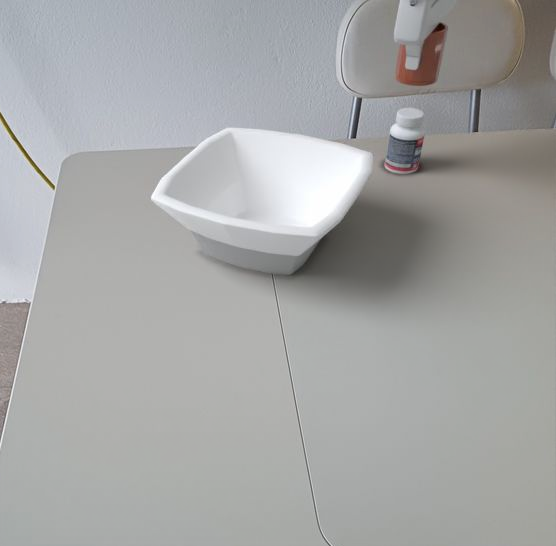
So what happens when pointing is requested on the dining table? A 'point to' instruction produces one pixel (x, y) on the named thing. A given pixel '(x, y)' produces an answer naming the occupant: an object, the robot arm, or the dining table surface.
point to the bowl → (263, 195)
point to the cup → (423, 60)
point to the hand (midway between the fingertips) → (419, 59)
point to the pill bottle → (405, 141)
